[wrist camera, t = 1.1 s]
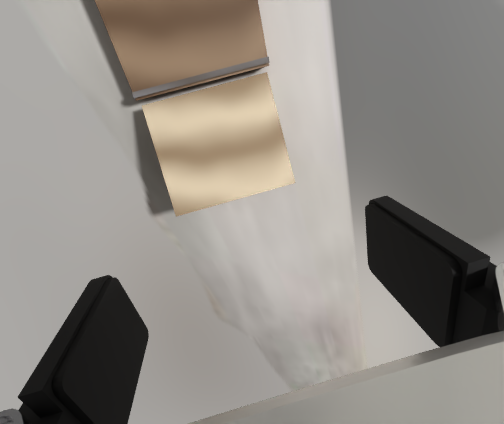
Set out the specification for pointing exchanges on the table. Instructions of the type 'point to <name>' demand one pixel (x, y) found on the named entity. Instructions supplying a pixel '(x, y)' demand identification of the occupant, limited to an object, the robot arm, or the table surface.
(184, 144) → the oak plank
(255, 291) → the table surface
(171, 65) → the walnut board
